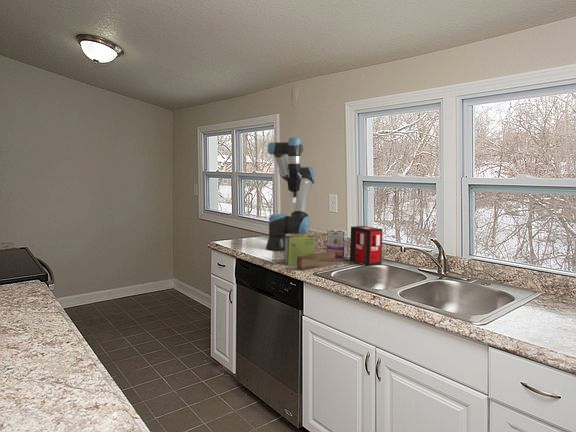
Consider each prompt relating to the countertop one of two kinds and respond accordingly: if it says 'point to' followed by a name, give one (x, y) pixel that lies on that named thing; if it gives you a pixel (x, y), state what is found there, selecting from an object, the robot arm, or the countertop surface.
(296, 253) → the protein box
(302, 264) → the walnut block
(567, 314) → the countertop surface
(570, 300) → the countertop surface
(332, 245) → the candy bar box
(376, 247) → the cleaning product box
